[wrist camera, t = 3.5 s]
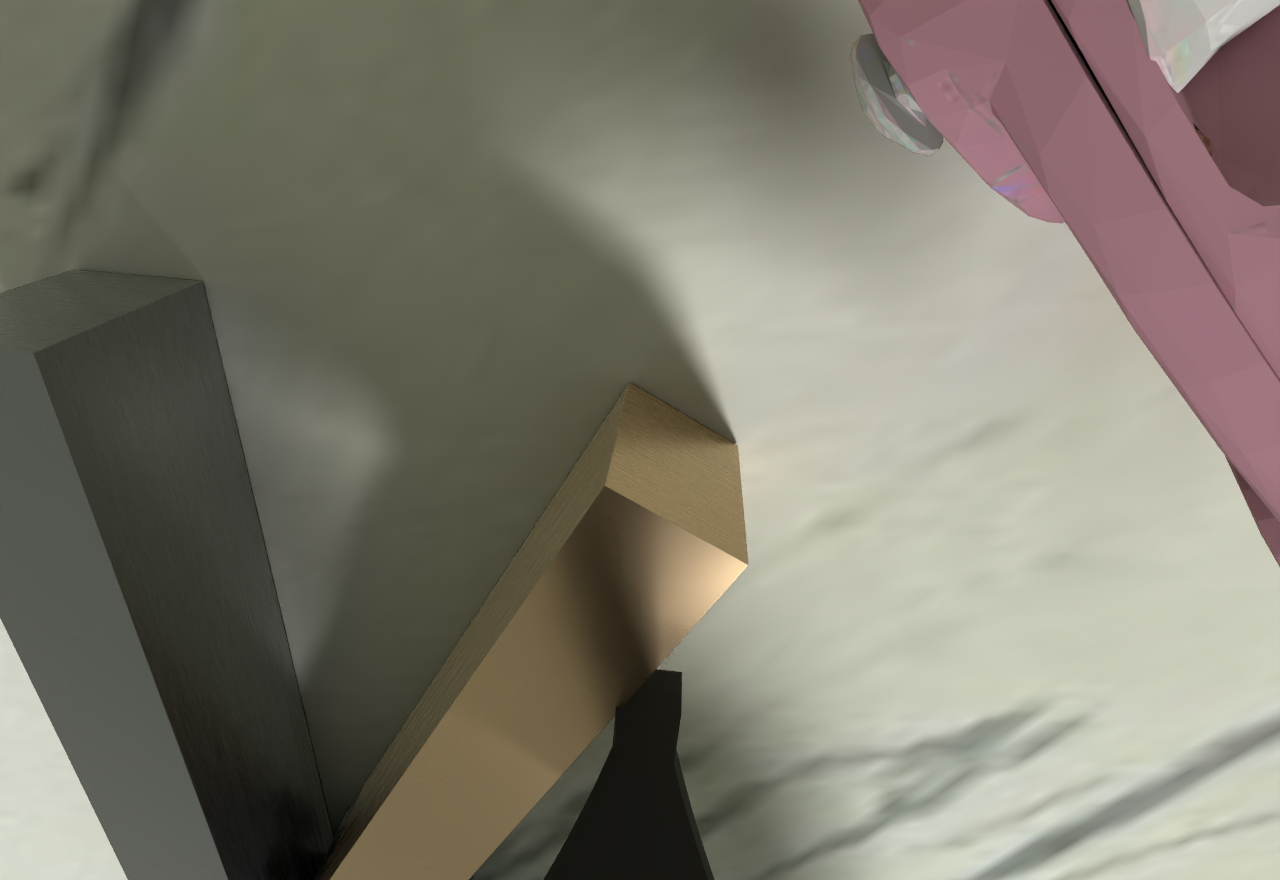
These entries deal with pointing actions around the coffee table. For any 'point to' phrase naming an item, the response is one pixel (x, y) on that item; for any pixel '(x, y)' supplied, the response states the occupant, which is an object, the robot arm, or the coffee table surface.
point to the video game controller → (1123, 170)
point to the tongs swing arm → (555, 645)
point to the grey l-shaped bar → (149, 582)
